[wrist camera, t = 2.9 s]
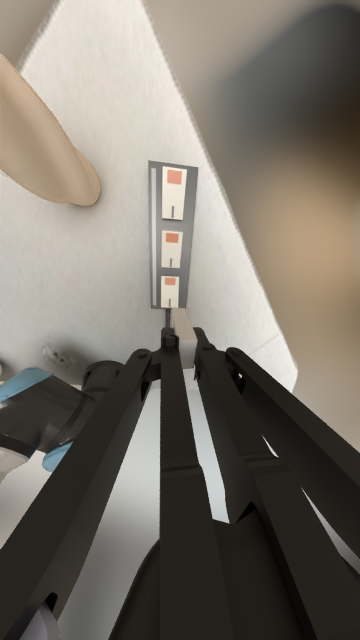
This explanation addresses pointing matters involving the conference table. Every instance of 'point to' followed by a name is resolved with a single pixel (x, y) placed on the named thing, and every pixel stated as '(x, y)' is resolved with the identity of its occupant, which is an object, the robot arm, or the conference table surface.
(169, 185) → the rocker
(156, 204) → the power strip
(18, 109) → the water bottle
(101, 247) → the conference table surface
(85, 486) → the robot arm
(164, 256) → the rocker
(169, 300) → the rocker
